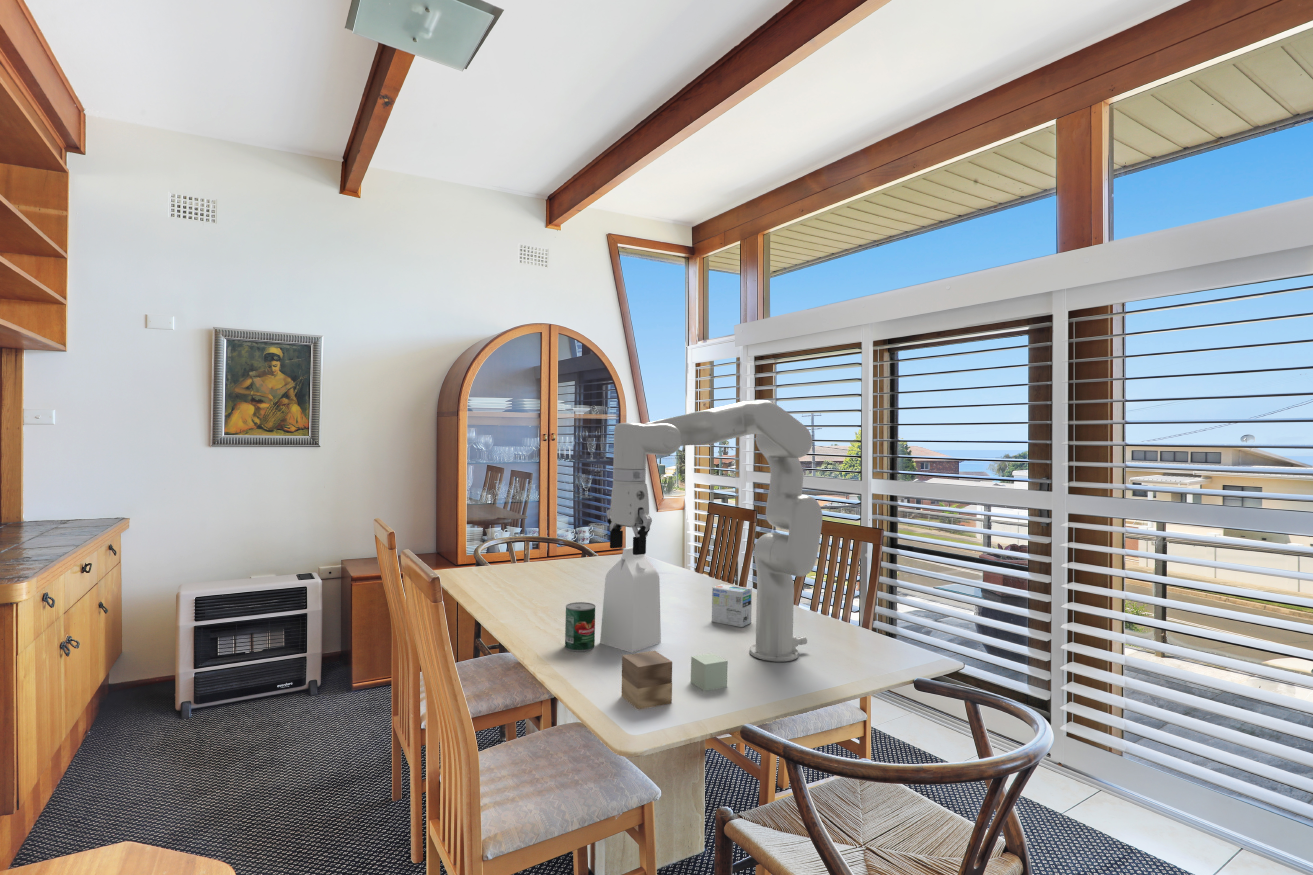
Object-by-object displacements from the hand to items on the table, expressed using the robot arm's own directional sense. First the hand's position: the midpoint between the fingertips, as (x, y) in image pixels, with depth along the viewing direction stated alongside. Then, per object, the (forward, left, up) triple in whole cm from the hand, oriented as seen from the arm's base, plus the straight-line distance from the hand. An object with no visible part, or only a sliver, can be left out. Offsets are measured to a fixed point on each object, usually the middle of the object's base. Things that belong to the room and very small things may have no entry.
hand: (627, 550), depth 155 cm
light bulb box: (-51, -31, -30) cm, 66 cm away
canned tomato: (0, -27, -30) cm, 40 cm away
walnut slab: (0, +12, -26) cm, 28 cm away
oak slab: (0, +12, -30) cm, 32 cm away
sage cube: (-17, +10, -30) cm, 36 cm away
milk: (-14, -25, -30) cm, 41 cm away
